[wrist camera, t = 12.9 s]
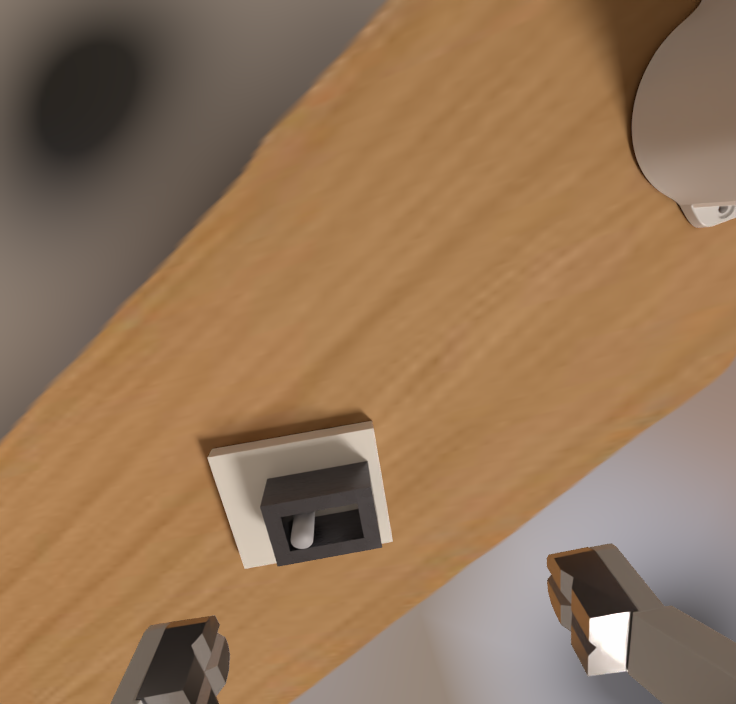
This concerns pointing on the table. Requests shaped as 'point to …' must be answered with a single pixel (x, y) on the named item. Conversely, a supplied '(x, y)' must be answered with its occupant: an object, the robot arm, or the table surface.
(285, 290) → the table surface
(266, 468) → the keeper plate
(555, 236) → the table surface
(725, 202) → the robot arm
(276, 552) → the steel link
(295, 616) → the table surface
